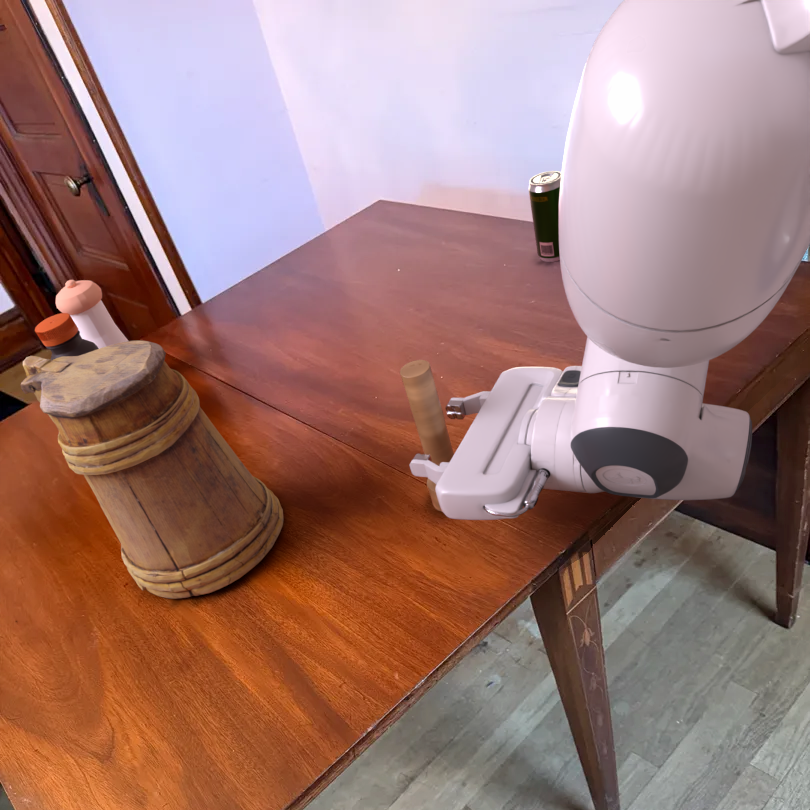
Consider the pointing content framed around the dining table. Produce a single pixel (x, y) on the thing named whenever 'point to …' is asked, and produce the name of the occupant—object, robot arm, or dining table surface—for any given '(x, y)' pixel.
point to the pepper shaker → (89, 312)
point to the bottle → (63, 337)
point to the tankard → (156, 468)
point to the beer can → (546, 213)
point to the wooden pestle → (427, 415)
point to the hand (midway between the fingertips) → (431, 435)
